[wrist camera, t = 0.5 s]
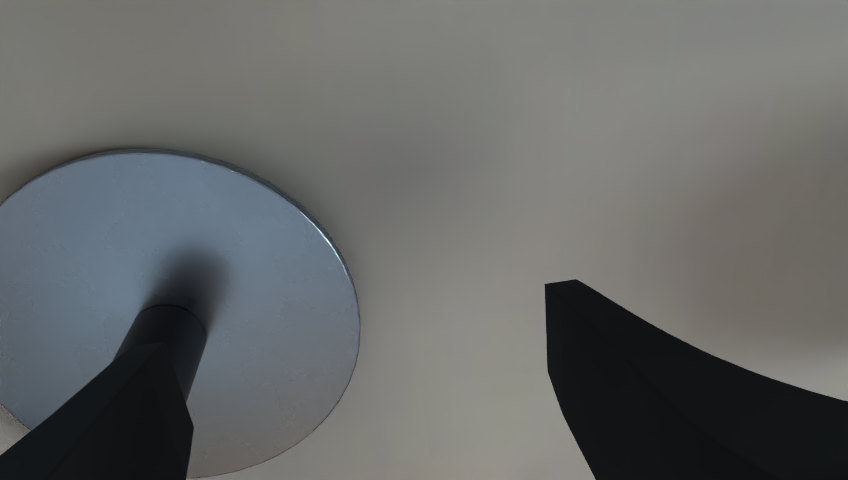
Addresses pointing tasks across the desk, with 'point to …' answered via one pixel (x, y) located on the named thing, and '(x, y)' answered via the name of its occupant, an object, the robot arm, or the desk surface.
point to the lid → (177, 297)
